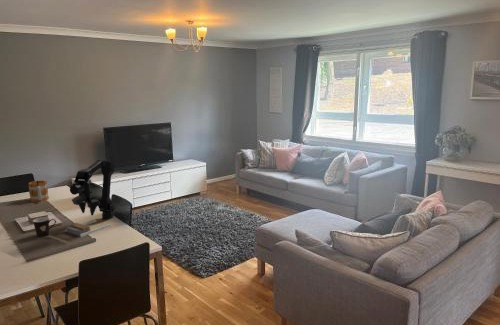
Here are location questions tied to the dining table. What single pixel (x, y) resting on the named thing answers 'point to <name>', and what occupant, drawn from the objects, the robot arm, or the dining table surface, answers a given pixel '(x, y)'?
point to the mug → (38, 191)
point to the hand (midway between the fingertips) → (87, 214)
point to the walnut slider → (81, 227)
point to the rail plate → (81, 232)
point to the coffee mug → (42, 226)
